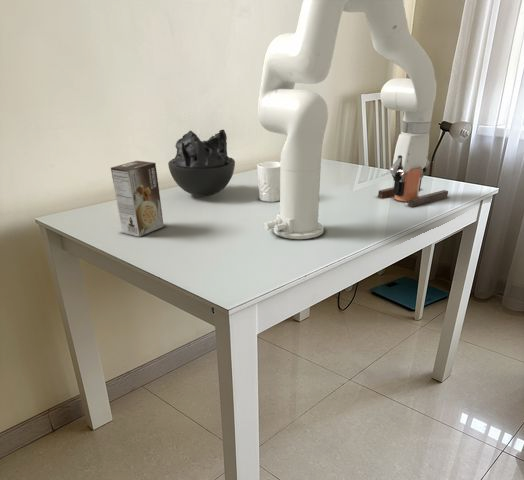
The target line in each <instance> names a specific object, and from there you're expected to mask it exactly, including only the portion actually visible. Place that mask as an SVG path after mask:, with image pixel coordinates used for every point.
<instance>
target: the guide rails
mask: <svg viewBox="0 0 524 480" xmlns="http://www.w3.org/2000/svg"><path fill="white" fill-rule="evenodd" d="M393 190H394V186H392V187H388V188H383V189H378V192H377V197H378V198H380V199H384V198H385V199H386V198H389V197H394V194H393ZM448 195H449V190H446V189H443V190H439V191H435V192H431V193H427V194H423V195H420V196H419V195H418V197H415V198H411V199H409V201H407V206H408V207H411V208H414V207H417V206H421V205H425V204H429V203H432V202H436V201H441V200H444V199H447V198H448Z"/></svg>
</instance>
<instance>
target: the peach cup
mask: <svg viewBox="0 0 524 480" xmlns="http://www.w3.org/2000/svg"><path fill="white" fill-rule="evenodd" d="M400 170H403V169H402V168H400ZM421 171H422V167H420V168H419V169H413V170H409V172H407V173H406V176H405V178H404V180H403V182H404V190H403V196H397V195H393V197H394V200H396V201H398V202H399V201H400V202H409V199H411V198H415V197H419V193H420V191H419V185H420V178H421ZM399 175H400V176H401V175H402V173H400V172H399Z"/></svg>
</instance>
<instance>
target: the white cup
mask: <svg viewBox="0 0 524 480" xmlns="http://www.w3.org/2000/svg"><path fill="white" fill-rule="evenodd" d="M256 168H257V184H258V196H259V198H258V199H259V200H260V201H262V202H267V203H269V202H270V203H274V202H280V161H261V162H258V163H257V164H256Z"/></svg>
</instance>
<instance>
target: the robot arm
mask: <svg viewBox="0 0 524 480" xmlns="http://www.w3.org/2000/svg"><path fill="white" fill-rule="evenodd" d="M343 12H345V13H364V15H365V18H366V22H367V26H368V30H369V34H370V38H371V42H372V46H373V49H374V51H375V52H376V53H378V54H379V55H380V56H381V57H383V58H384V59H386V60H388V61H390V62H391V63H394V64H395V65H396V66H398V67H400V69H402V70H403V71H404V72H405V73H406V74H407V76H408V78H406V77H405V78H402V77H395V78H392V79H389V80H388V81H386V82H385V83H384V85H382V88H381V90H380V94H379V95H380V96H379V98H380V102H381V104H382V105H383V107H384V108H386V109H388V110H390V111H391V110H392V111H397V112H398V111H399V112H403V117H402V125H401V133H399V135H398V137H397V141H396V145H395V150H394V154H393V159H392V166H391V167H390V168H389V172H390V174H391V176H392V178H393V179H392V181H394V184H393V187H394V190H393V194H394V195H397V196H403V190H404V182H403V180H404V178H405V176H406V173H407V172H409V170H413V169H419V168H420V167H422V171H421V178H420V185H419V192H420V191H421V186H422V179H423V178H424V176H425V175H424V174H425V173H426V171H427V169H428V167H429V165H430V163H431V162H430V160H429V159H428V157H429V149H430V148H429V147H430V131H431V130H430V129H431V124H432V117H433V112H434V104H435V102H436V97H437V85H438V84H437V83H438V82H437V80H436V75H435V68H434V65H433V62H432V60H431V58H430V56H429V55H428V54H427V52H426V51H425V50H424V48H423V47H422V46H421V44H420V42H418V40H416V39H415V37H414V36H413V35H412V34H411V32H410V30H409V25H408V19H407V14H406V10H405V3H404V0H302V3H301V7H300V11H299V17H298V21H297V26H296V29H295V32H286V33H282V34H281V33H280V34H279V35H277V36H275V38H273V40H272V41H271V42H270V44H269V45H268V47H267V50H266V52H265V56H264V60H263V67H262V71H261V72H262V73H261V79H260V87H259V94H258V101H257V103H258V104H257V117H258V121H259V123H260V125H261V126H262V128H263V129H264V130H266V131H267V132H269V133H273V134H280V135H284V136H287V137H286V140H285V142H284V145H283V147H282V148H281V153H280V160H279V162H280V200H279V213H277V214H276V217H275V218H274V219H273V220H268V221H265V222H264V223H263V229H264V230H266V231H268V230H272V229H273V233H275V235H276V236H279V237H281V238H284V239H290V240H308V239H313V238H317V237H319V236H321V235H323V234H324V231H325V226H324V225H323V224H322V223H320V222H319V209H320V207H319V206H320V188H321V170H322V169H321V168H322V167H321V166H322V154H323V153H322V151H323V145H324V144H323V143H324V137H325V132H326V128H327V124H328V120H329V107H328V104H327V102H326V101H325V99H324V98H323V97H322V96H321V95H320V94H319V93H317V92H314V91H311V90H305V89H298V88H297V89H296V88H295V85H296V84H305V85H315V84H320V83H322V82H324V81H325V80H326V79H327V77H328V75H329V73H330V70H331V67H332V63H333V57H334V51H335V47H336V41H337V38H338V37H337V36H338V31H339V27H340V23H341V20H342V19H341V18H342V14H343ZM400 168H402V169H403V170H400ZM399 172H400V173H402V175H401V176H400V175H399ZM394 195H393V196H394Z"/></svg>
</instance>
